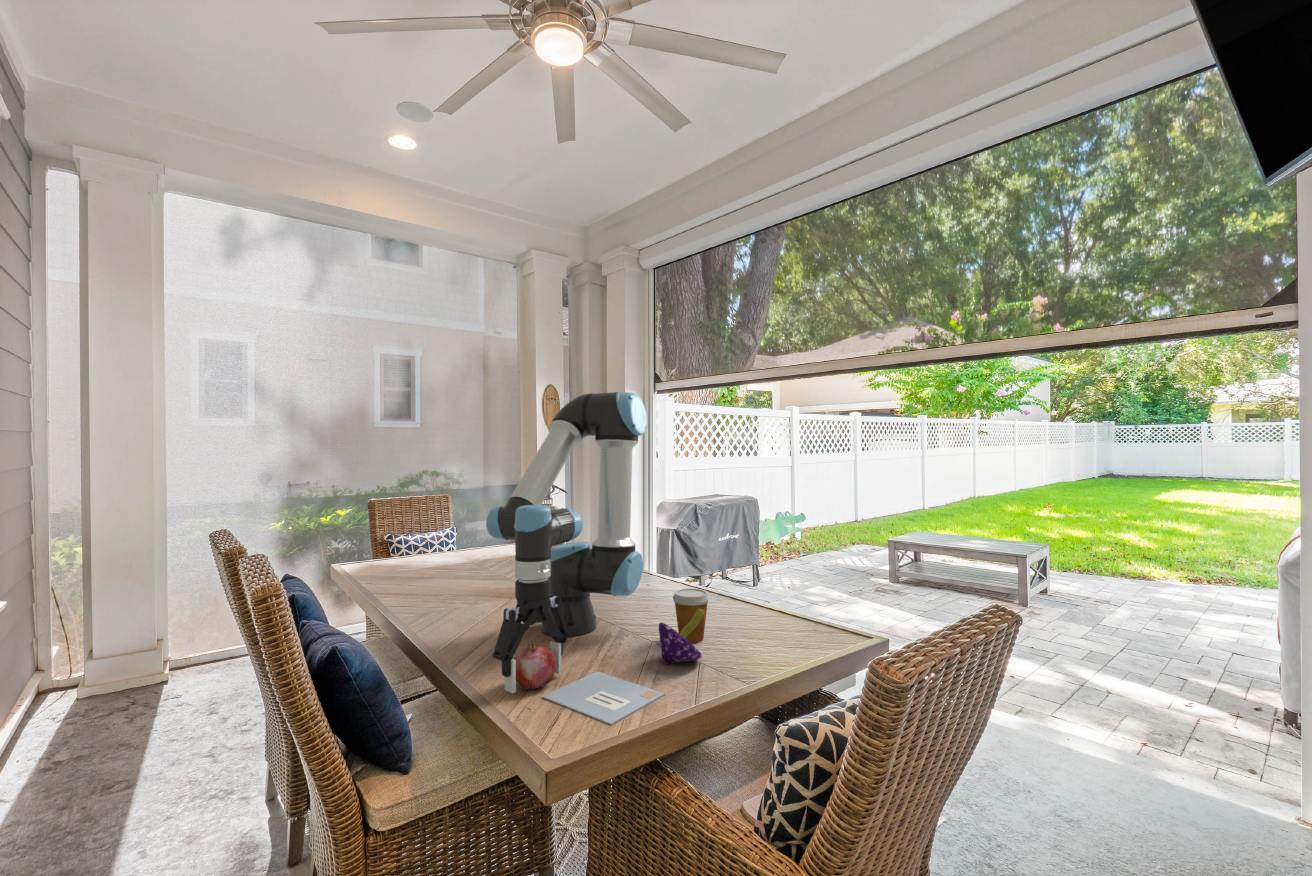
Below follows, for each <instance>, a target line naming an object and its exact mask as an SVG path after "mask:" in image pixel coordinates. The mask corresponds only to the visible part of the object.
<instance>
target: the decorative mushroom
mask: <svg viewBox="0 0 1312 876" xmlns="http://www.w3.org/2000/svg"><path fill="white" fill-rule="evenodd" d="M703 615H704V611H703V610H702V609H697V611H696V613H695V614H694V616H693V618H692V619H691V621H690V622H689V623H688V624H687V625H686V626H685V627H684V628H683V629H682V631H681V633H680V634H679V632H678V631H676V630H675V629H674V628H672V627H671V626H670V625H668V624H666V623H665V622H659V623H658V633H659V634H658V635H659V646H660V650H661V659H662V662H663V663H664V664H666V665H667V664H669V665H670V664H672V663H673V664H674V663H676V664H677V663H686V662H692V661H698V660H700V659H702V656H703V655H702V653H701V651H699V649H698V648H696V646H694V644H693V643H690V642H689V641H688V640H686V639H685V638H686V637H687V636H688V635H689V634H690V633H691V632H692V631H693V630H694V629H695V628H696V627H697V625H698V623H699V622H700V620H701V618H702V617H703Z"/></svg>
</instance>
